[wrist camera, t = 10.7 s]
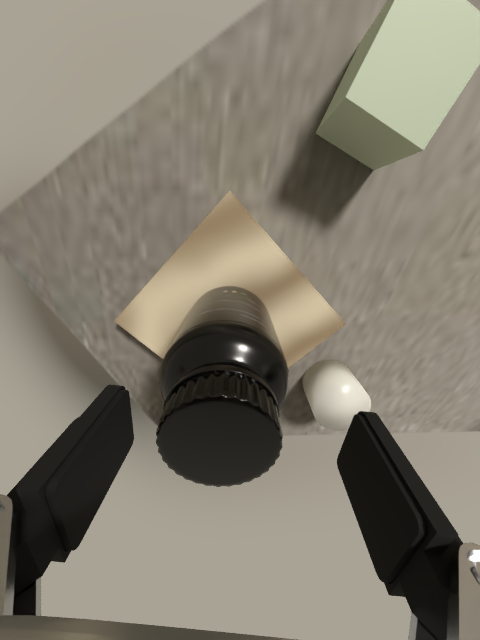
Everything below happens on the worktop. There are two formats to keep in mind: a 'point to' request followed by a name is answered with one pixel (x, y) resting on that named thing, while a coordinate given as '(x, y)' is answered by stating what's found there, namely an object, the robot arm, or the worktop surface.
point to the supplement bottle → (223, 391)
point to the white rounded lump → (334, 394)
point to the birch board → (231, 270)
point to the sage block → (403, 79)
